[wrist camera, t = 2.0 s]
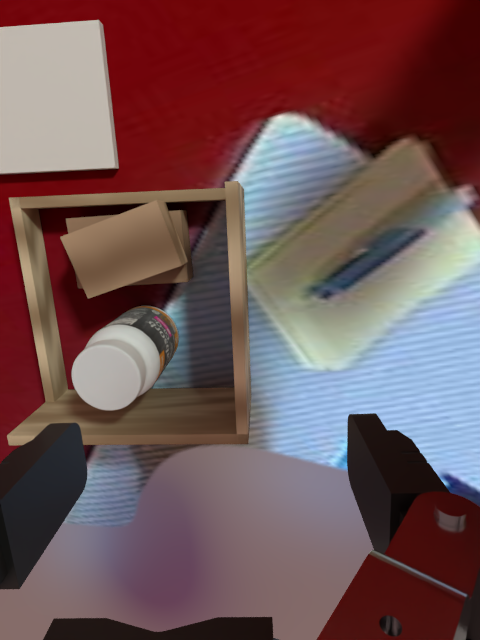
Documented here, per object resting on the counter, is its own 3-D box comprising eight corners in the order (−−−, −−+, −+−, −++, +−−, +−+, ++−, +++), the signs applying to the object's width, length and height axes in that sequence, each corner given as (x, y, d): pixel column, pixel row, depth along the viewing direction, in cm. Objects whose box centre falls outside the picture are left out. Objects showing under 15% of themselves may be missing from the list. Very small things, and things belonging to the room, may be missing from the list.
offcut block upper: (75, 235, 31) (59, 236, 28) (164, 201, 30) (156, 200, 27) (100, 292, 32) (87, 298, 30) (188, 261, 31) (181, 265, 29)
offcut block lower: (82, 217, 33) (65, 218, 31) (187, 210, 33) (180, 210, 30) (93, 282, 35) (77, 288, 32) (194, 276, 34) (187, 281, 31)
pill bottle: (189, 353, 36) (163, 404, 26) (132, 372, 36) (86, 428, 27) (165, 294, 34) (127, 325, 25) (106, 316, 35) (48, 354, 26)
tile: (-27, 34, 30) (-34, 29, 29) (102, 25, 29) (98, 20, 29) (-1, 174, 32) (-7, 173, 32) (118, 168, 32) (115, 167, 31)
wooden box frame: (27, 199, 33) (-45, 194, 25) (243, 189, 32) (237, 181, 24) (61, 397, 37) (9, 445, 30) (251, 395, 36) (248, 444, 29)
